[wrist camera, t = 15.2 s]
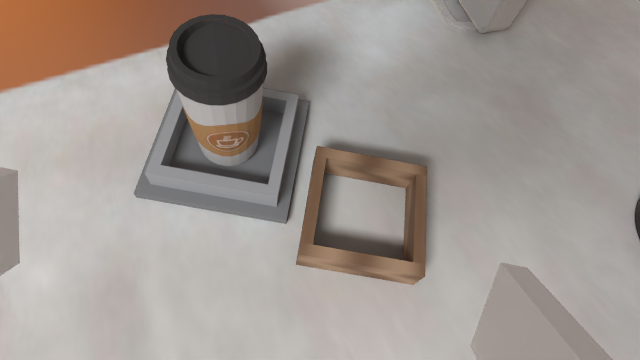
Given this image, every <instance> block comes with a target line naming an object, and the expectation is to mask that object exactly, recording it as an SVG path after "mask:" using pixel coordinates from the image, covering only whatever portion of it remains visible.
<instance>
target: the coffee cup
mask: <svg viewBox="0 0 640 360" xmlns="http://www.w3.org/2000/svg"><path fill="white" fill-rule="evenodd" d="M166 62H167V66H168V69H167V70H168V74H169V78H170V81H171V82H172V84H173V85H174V87H175V89H176V90H177V92H178V94H179V97H180V99H181V102H182V104H183V108H184V111H185V114H186V116H187V119H188V121H189V123H190V126H191V128H192V131H193V133H194V135H195V137H196V139H197V141H198V143H199V146H200V148H201V151H202V152H203V154H204V155H205V156H206V157H207V158H208V159H209V160H210V161H212V162H214V163H216V164H218V165H223V166H235V165H239V164H241V163H243V162H245V161H247V160H248V159H249V158H250V157H251V156H252V155H253V154H254V152H255V151H256V148H257V145H258V137H259V131H260V125H261V115H262V105H263V85H264V80H265V77H266V74H267V62H266V54H265V51H264V48H263V45H262V43H261V42H260V41H259V39H258V36H257V34H256V33H255V32H254V30H253V29H252V28H251V27H250V26H248V25H247V24H246V23H244V22H243V21H240V20H238V19H236V18H233V17H229V16H225V15H205V16H199V17H196V18H193V19H190V20H189V21H187V22H185V23H184V24H182V25H181V26H180V27H179V28H178V29H177V30H176V31H175V32H174V33H173V35H172V37H171V39H170V43H169V48H168V50H167V57H166Z"/></svg>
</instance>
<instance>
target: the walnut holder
mask: <svg viewBox="0 0 640 360" xmlns="http://www.w3.org/2000/svg"><path fill="white" fill-rule="evenodd" d="M324 173H327V174H333V175H338V176H344V177H349V178H354V179H360V180H365V181H371V182H376V183H381V184H387V185H392V186H398V187H403V188H406V203H405V226H404V249H403V260H398V259H392V258H386V257H381V256H375V255H369V254H364V253H358V252H352V251H347V250H341V249H335V248H330V247H324V246H318V245H313V242H314V235H315V229H316V222H317V216H318V209H319V203H320V196H321V190H322V183H323V176H324ZM426 191H427V167H426V166H421V165H415V164H410V163H405V162H400V161H394V160H389V159H384V158H378V157H373V156H368V155H362V154H357V153H352V152H346V151H341V150H336V149H330V148H325V147H320V146H317V149H316V153H315V157H314V162H313V168H312V173H311V179H310V185H309V191H308V197H307V203H306V209H305V215H304V221H303V226H302V232H301V238H300V244H299V250H298V256H297V262H296V265H302V266H308V267H314V268H319V269H325V270H331V271H337V272H343V273H348V274H354V275H360V276H366V277H371V278H377V279H383V280H389V281H395V282H400V283H406V284H412V285H414V284H415V283H416V282H418V281H419V280H421V279H422V278H423V277H425V253H426Z"/></svg>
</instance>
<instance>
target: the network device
mask: <svg viewBox="0 0 640 360" xmlns="http://www.w3.org/2000/svg"><path fill="white" fill-rule="evenodd" d="M433 1H434V2H435V4H436V6H437V7H438V9H439V10H440V12H441V14H442V15H443V17H444V19H445V20H446V21H447V23H448V24H450V25H451V26H452V27H454V28H456V29H459V30H464V31H470V30H478V31H479V32H480V33H485V32H492V31H498V30H505V29H507V28H508V27H509V26H510V25H511V24H512V22H513V21H514V19H515V18H516V16H517V15H518V13H519V12H520V10H521V9H522V7H523V6H524V4H525V3H526V1H527V0H458V1H459V2H460V4H461V6H462V7H463V9H464V10H465V12H466V13H467V15H468V16H469V18H470V19H471V21H469V22H459V21H457V20H455V19H454V18H453V16H452V14H451V13H450V11H449V10H448V8H447V6H446V5H445V3H444V2H443V0H433Z"/></svg>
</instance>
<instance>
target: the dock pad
mask: <svg viewBox="0 0 640 360" xmlns="http://www.w3.org/2000/svg"><path fill="white" fill-rule="evenodd" d="M298 97H299V95H298V94H292V93H287V92H282V91H277V90H272V89H267V88H263V105H262V115H261V125H260V131H259V137H258V145H257V148H256V151H255V152H254V154H253V155H252V156H251V157H250V158H249V159H248V160H247V161H245V162H243V163H241V164H239V165H235V166H223V165H218V164H216V163H214V162H212V161H210V160H209V159H208V158H207V157H206V156H205V155H204V154H203V152H202V151H201V148H200V146H199V143H198V141H197V139H196V137H195V135H194V133H193V131H192V128H191V126H190V123H189V121H188V119H187V116H186V114H185V111H184V108H183V104H182V102H181V99H180V97H179V94H178V92H177V90H176V89H175V90H174V93H173V95H172V98H171V100H170V103H169V105H168V108H167V110H166V113H165V115H164V118H163V120H162V123H161V125H160V128H159V131H158V133H157V136H156V138H155V141H154V143H153V146H152V148H151V151H150V153H149V156H148V158H147V161H146V163H145V166H144V168H143V171H142V173H141V176H140V179H139V181H138V184H137V186H136V189H135V191H134V194H135V196H136V197H139V198H144V199H150V200H155V201H161V202H167V203H172V204H178V205H184V206H189V207H195V208H200V209H206V210H212V211H217V212H223V213H229V214H234V215H240V216H245V217H251V218H257V219H262V220H268V221H274V222H279V223H285V224H286V221H287V216H288V210H289V205H290V200H291V195H292V189H293V184H294V179H295V174H296V169H297V163H298V158H299V153H300V148H301V142H302V137H303V132H304V127H305V121H306V116H307V111H308V106H309V101H304V100H299V99H298Z"/></svg>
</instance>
